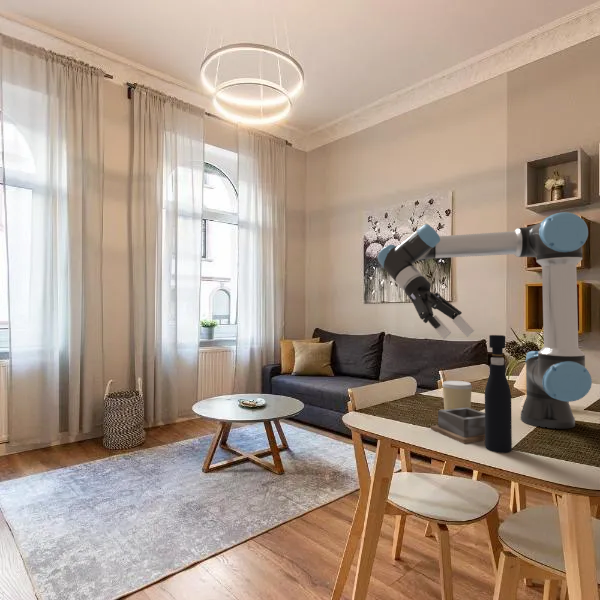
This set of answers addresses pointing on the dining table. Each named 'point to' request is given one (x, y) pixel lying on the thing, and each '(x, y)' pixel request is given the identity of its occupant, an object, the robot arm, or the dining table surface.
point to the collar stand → (461, 424)
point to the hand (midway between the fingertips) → (459, 334)
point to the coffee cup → (456, 394)
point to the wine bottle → (498, 401)
